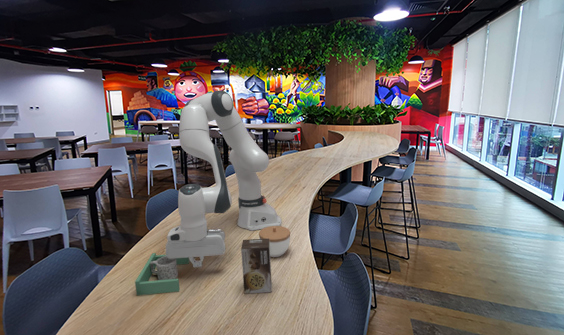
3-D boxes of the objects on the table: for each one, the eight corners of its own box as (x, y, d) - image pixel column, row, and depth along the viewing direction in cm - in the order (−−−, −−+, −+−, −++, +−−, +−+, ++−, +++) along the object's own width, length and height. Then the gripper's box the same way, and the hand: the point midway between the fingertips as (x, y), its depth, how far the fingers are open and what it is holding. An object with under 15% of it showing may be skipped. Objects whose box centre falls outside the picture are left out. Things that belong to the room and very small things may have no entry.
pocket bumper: (189, 262, 114) (187, 250, 113) (178, 291, 97) (177, 277, 95) (154, 264, 113) (152, 253, 112) (136, 295, 95) (134, 281, 94)
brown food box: (271, 281, 101) (270, 237, 98) (271, 292, 95) (270, 247, 91) (245, 282, 101) (242, 238, 97) (243, 294, 95) (240, 248, 91)
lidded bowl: (263, 263, 112) (262, 236, 110) (257, 248, 124) (255, 223, 122) (294, 257, 116) (294, 231, 113) (285, 243, 128) (284, 219, 125)
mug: (181, 272, 107) (179, 256, 106) (171, 283, 101) (169, 266, 100) (157, 270, 109) (155, 253, 108) (145, 280, 103) (143, 263, 102)
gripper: (225, 225, 107) (227, 259, 110) (166, 229, 104) (171, 264, 107) (223, 232, 101) (226, 268, 104) (162, 237, 98) (166, 273, 101)
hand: (197, 266), depth 105 cm, fingers closed
